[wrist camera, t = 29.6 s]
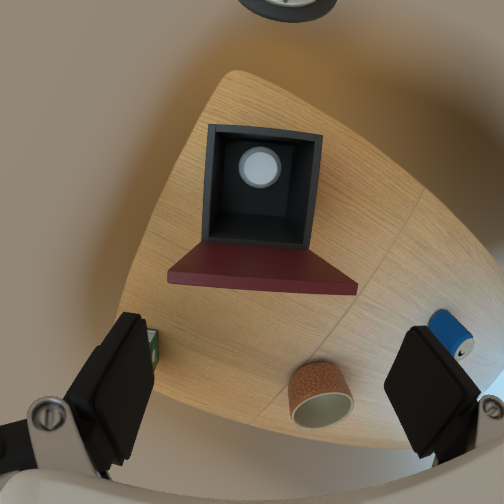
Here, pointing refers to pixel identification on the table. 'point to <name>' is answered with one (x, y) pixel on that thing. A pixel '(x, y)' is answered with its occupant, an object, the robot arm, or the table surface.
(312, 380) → the planter
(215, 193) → the dark gray box
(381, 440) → the table surface
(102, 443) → the robot arm
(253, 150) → the pill bottle
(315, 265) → the keepsake box lid
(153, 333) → the coffee box
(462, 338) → the beverage can
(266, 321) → the table surface
